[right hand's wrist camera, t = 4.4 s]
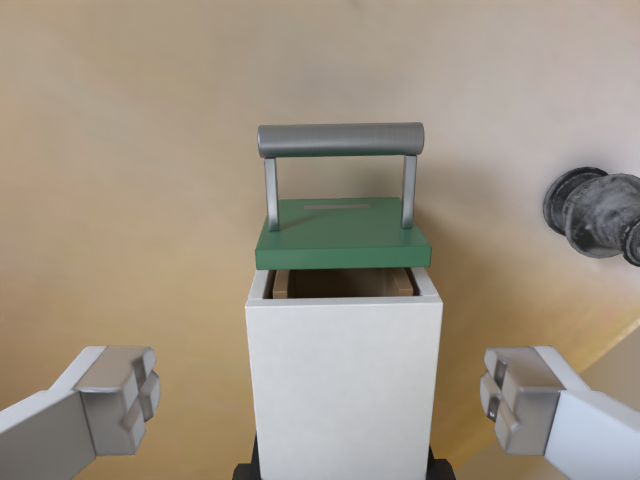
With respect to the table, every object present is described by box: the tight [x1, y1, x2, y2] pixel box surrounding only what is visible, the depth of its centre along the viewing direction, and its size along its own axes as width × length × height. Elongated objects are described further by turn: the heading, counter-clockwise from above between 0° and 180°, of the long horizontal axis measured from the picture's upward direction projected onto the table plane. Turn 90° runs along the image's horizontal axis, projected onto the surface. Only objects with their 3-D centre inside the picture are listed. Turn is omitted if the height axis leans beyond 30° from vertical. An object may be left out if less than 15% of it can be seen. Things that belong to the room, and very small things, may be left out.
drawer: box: [255, 122, 432, 299], centre depth 28 cm, size 22×9×9 cm, turn 1°
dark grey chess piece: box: [543, 167, 640, 267], centre depth 26 cm, size 6×6×12 cm
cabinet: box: [245, 267, 444, 480], centre depth 30 cm, size 17×10×11 cm, turn 1°
